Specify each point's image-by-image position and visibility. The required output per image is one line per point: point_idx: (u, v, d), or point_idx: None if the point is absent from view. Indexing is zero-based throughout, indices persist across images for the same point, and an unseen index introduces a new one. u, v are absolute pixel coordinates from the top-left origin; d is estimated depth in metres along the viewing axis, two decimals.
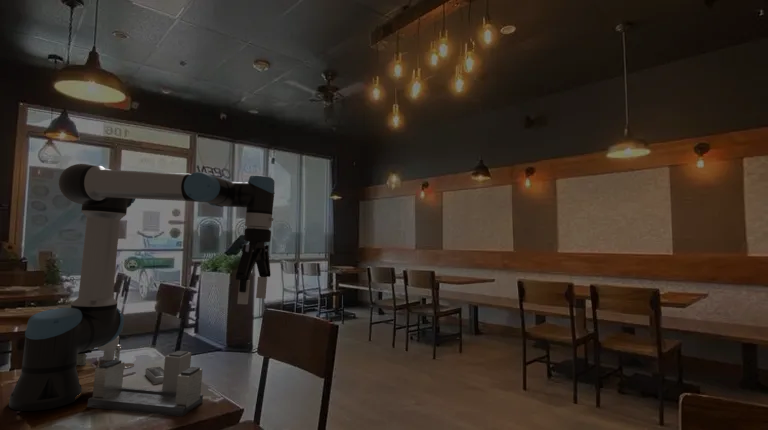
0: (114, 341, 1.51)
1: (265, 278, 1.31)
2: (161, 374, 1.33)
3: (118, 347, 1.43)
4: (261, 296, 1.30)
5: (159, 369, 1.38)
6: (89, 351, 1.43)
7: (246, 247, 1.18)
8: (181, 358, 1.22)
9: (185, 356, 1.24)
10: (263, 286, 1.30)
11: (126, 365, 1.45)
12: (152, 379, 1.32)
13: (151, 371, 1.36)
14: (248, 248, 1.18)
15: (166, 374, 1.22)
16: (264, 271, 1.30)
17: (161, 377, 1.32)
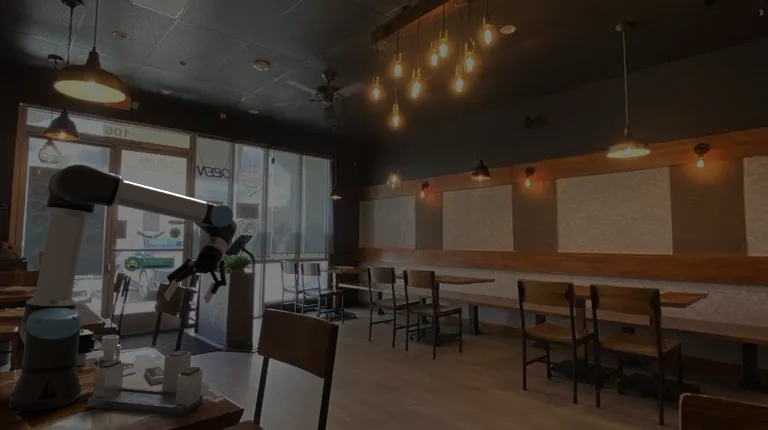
0: (114, 341, 1.51)
1: (177, 285, 1.43)
2: (158, 374, 1.33)
3: (118, 347, 1.43)
4: (168, 297, 1.39)
5: (158, 369, 1.38)
6: (89, 351, 1.43)
7: (224, 264, 1.48)
8: (181, 358, 1.22)
9: (185, 356, 1.24)
10: (173, 290, 1.41)
11: (126, 365, 1.45)
12: (149, 379, 1.32)
13: (149, 371, 1.35)
14: (224, 266, 1.48)
15: (166, 374, 1.22)
16: (181, 280, 1.45)
17: (158, 377, 1.31)
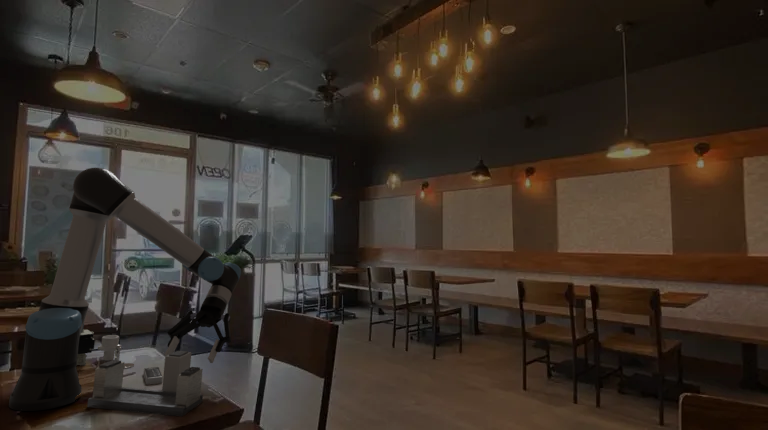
0: (114, 341, 1.51)
1: (178, 341, 1.34)
2: (154, 375, 1.32)
3: (118, 347, 1.43)
4: None
5: (156, 370, 1.37)
6: (89, 351, 1.43)
7: (229, 317, 1.39)
8: (181, 358, 1.22)
9: (185, 356, 1.24)
10: (174, 347, 1.32)
11: (126, 365, 1.45)
12: (145, 380, 1.31)
13: (147, 371, 1.35)
14: (229, 318, 1.39)
15: (166, 374, 1.22)
16: (182, 335, 1.36)
17: (153, 378, 1.30)
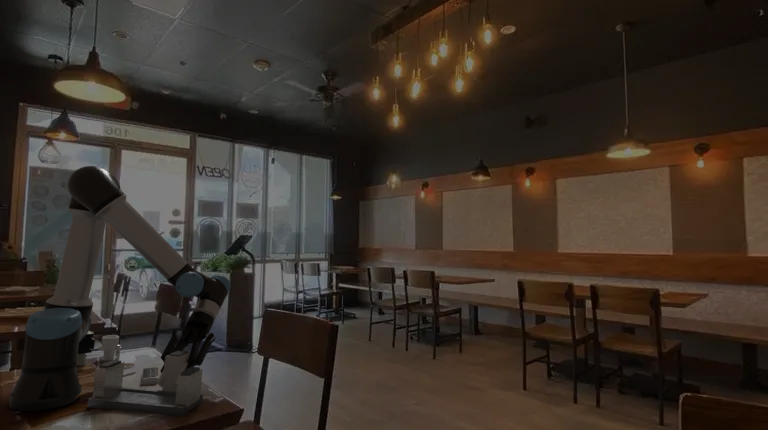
0: (114, 341, 1.51)
1: None
2: (150, 375, 1.32)
3: (118, 347, 1.43)
4: (162, 383, 1.21)
5: (154, 370, 1.37)
6: (89, 351, 1.43)
7: (212, 337, 1.32)
8: (181, 358, 1.22)
9: (185, 356, 1.24)
10: None
11: (126, 365, 1.45)
12: None
13: (145, 371, 1.35)
14: (212, 339, 1.32)
15: (166, 374, 1.22)
16: None
17: (148, 378, 1.30)
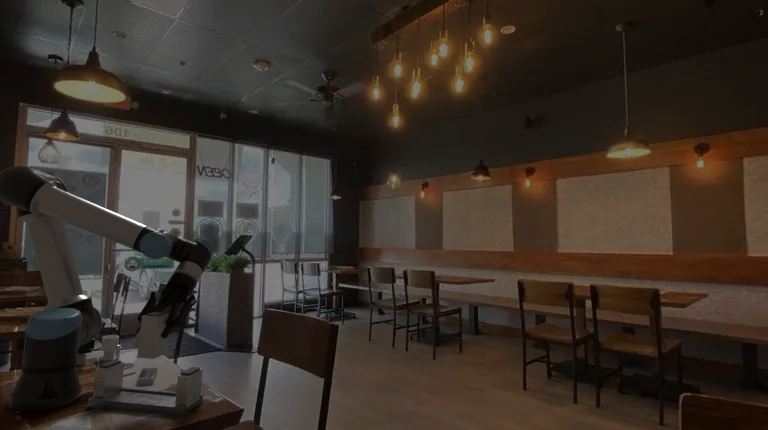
0: (114, 341, 1.51)
1: None
2: (147, 376, 1.31)
3: (118, 347, 1.43)
4: (138, 344, 1.14)
5: (152, 370, 1.37)
6: (89, 351, 1.43)
7: (193, 300, 1.24)
8: (159, 318, 1.15)
9: (163, 317, 1.17)
10: None
11: (126, 365, 1.45)
12: None
13: (143, 372, 1.35)
14: (193, 302, 1.24)
15: (142, 334, 1.14)
16: None
17: (144, 379, 1.29)
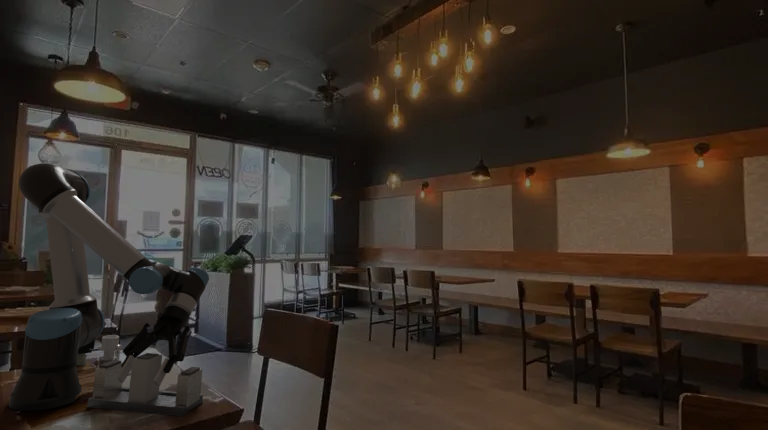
0: (114, 341, 1.51)
1: None
2: None
3: (118, 347, 1.43)
4: (122, 378, 1.13)
5: None
6: (89, 351, 1.43)
7: (189, 331, 1.23)
8: (149, 361, 1.13)
9: (154, 359, 1.15)
10: (129, 368, 1.15)
11: None
12: None
13: None
14: (189, 333, 1.23)
15: (133, 378, 1.12)
16: (140, 352, 1.19)
17: None
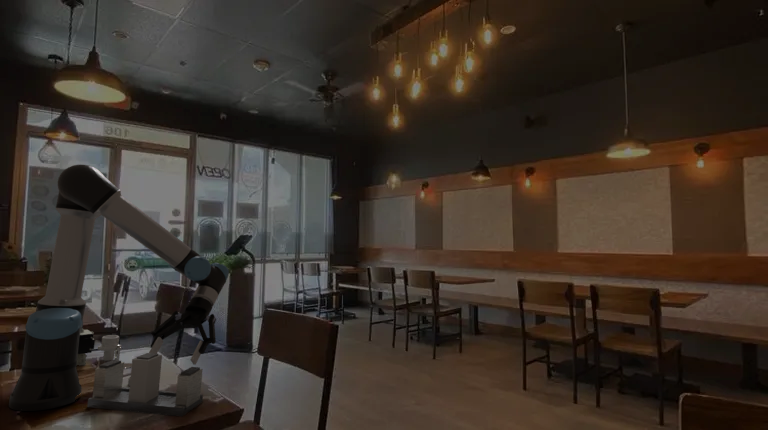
0: (114, 341, 1.51)
1: (162, 342, 1.32)
2: None
3: (118, 347, 1.43)
4: None
5: None
6: (89, 351, 1.43)
7: (214, 318, 1.37)
8: (149, 361, 1.13)
9: (154, 359, 1.15)
10: (158, 348, 1.30)
11: (126, 365, 1.45)
12: None
13: None
14: (214, 319, 1.38)
15: (133, 378, 1.12)
16: (166, 336, 1.34)
17: None
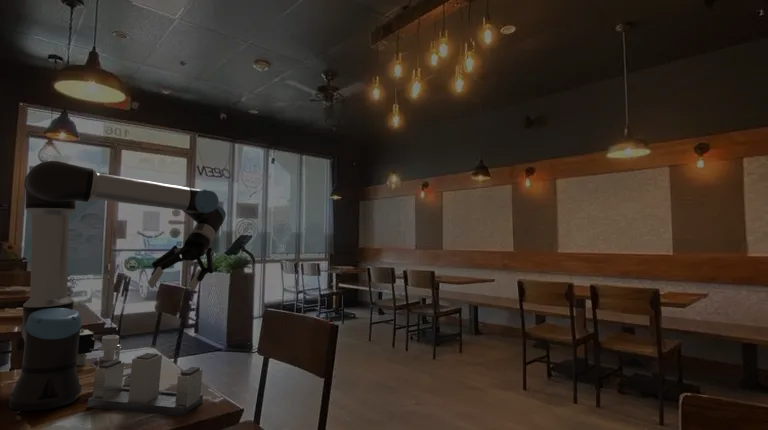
0: (114, 341, 1.51)
1: (162, 272, 1.39)
2: None
3: (118, 347, 1.43)
4: (152, 284, 1.34)
5: None
6: (89, 351, 1.43)
7: (211, 251, 1.44)
8: (149, 361, 1.13)
9: (154, 359, 1.15)
10: (158, 277, 1.37)
11: (126, 365, 1.45)
12: None
13: None
14: (212, 253, 1.44)
15: (133, 378, 1.12)
16: (166, 267, 1.40)
17: None
